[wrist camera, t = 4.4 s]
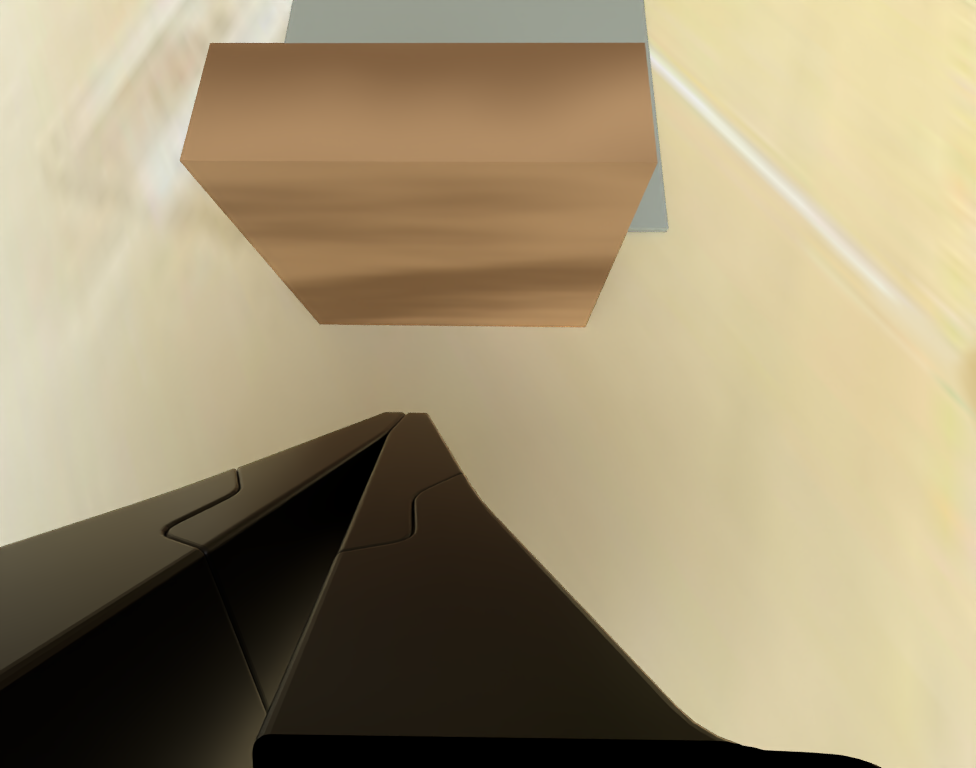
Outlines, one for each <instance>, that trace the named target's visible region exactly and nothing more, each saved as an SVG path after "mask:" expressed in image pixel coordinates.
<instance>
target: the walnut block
mask: <svg viewBox="0 0 976 768" xmlns="http://www.w3.org/2000/svg"><path fill="white" fill-rule="evenodd" d="M180 162H181V163H182V164H183V165H184V166H185V167H186V169H187V170H188V171H189V172H190V173H191V174H192V176H193V177H194V178H195V179H196V180H197V181H198V183H199V184H200V185H201V186H202V187H203V188H204V190H205V191H206V192H207V193H208V194H209V195H210V197H211V198H212V199H213V200H214V201H215V202H216V204H217V205H218V206H219V207H220V208H221V209H222V211H223V212H224V213H225V214H226V215H227V216H228V218H229V219H230V220H231V221H232V222H233V223H234V225H235V226H236V227H237V228H238V229H239V230H240V232H241V233H242V234H243V235H244V236H245V237H246V239H247V240H248V241H249V242H250V243H251V244H252V246H253V247H254V248H255V249H256V250H257V251H258V253H259V254H260V255H261V256H262V257H263V258H264V260H265V261H266V262H267V263H268V264H269V265H270V267H271V268H272V269H273V270H274V271H275V272H276V274H277V275H278V276H279V277H280V278H281V279H282V281H283V282H284V283H285V284H286V285H287V286H288V288H289V289H290V290H291V291H292V292H293V293H294V295H295V296H296V297H297V298H298V299H299V300H300V302H301V303H302V304H303V305H304V306H305V307H306V309H307V310H308V311H309V312H310V313H311V314H312V316H313V317H314V318H315V319H316V320H317V321H318V323H319V324H340V325H430V326H520V327H585V326H586V324H587V322H588V320H589V317H590V315H591V313H592V310H593V308H594V306H595V304H596V301H597V299H598V297H599V295H600V292H601V290H602V288H603V286H604V283H605V281H606V279H607V276H608V274H609V272H610V270H611V267H612V265H613V263H614V261H615V258H616V256H617V254H618V252H619V249H620V247H621V245H622V242H623V240H624V238H625V236H626V233H627V231H628V229H629V227H630V224H631V222H632V220H633V218H634V215H635V213H636V211H637V208H638V206H639V204H640V202H641V199H642V197H643V195H644V193H645V190H646V188H647V186H648V184H649V181H650V179H651V177H652V174H653V172H654V170H655V168H656V165H657V163H658V161H657V151H656V142H655V132H654V123H653V113H652V104H651V94H650V85H649V76H648V66H647V57H646V47H645V43H210V46H209V50H208V54H207V58H206V61H205V65H204V69H203V73H202V77H201V81H200V84H199V88H198V92H197V96H196V100H195V104H194V108H193V111H192V115H191V119H190V123H189V127H188V131H187V135H186V138H185V142H184V146H183V150H182V154H181V158H180Z"/></svg>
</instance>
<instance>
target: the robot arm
mask: <svg viewBox="0 0 976 768" xmlns="http://www.w3.org/2000/svg"><path fill="white" fill-rule="evenodd" d="M0 768H881V767H879V766H877V765H874V764H872V763H869V762H866V761H863V760H860V759H857V758H852V757H848V756H843V755H835V754H823V753H809V752H790V751H768V750H761V749H757V748H754V747H747V746H742V745H740V744H738V743H735V742H732V741H730V740H727V739H724V738H722V737H719V736H717V735H715V734H714V733H712V732H710V731H709V730H707V729H705V728H704V727H702V726H700V725H699V724H697V723H695V722H694V721H693V720H692V719H691V718H690V717H689V716H687V715H686V714H685V713H684V712H683V711H682V710H680V709H679V708H678V707H677V706H676V705H675V704H674V703H673V702H672V701H671V699H670V698H669V697H668V696H667V695H666V694H665V693H664V692H663V691H662V690H661V689H660V688H659V687H658V686H657V685H656V684H655V683H654V682H653V681H652V680H651V678H650V677H649V676H648V675H647V674H646V673H645V672H644V671H643V670H642V669H641V668H640V667H639V666H638V665H637V664H636V663H635V662H634V661H633V660H632V659H631V657H630V656H629V655H628V654H627V653H626V652H625V651H624V650H623V649H622V648H621V647H620V646H619V645H618V644H617V643H616V642H615V641H614V640H613V639H612V638H611V636H610V635H609V634H608V633H607V632H606V631H605V630H604V629H603V628H602V627H601V626H600V625H599V624H598V623H597V622H596V621H595V620H594V619H593V618H592V617H591V615H590V614H589V613H588V612H587V611H586V610H585V609H584V608H583V607H582V606H581V605H580V604H579V603H578V602H577V601H576V600H575V599H574V598H573V597H572V596H571V594H570V593H569V592H568V591H567V590H566V589H565V588H564V587H563V586H562V585H561V584H560V583H559V582H558V581H557V580H556V579H555V578H554V577H553V576H552V575H551V573H550V572H549V571H548V570H547V569H546V568H545V567H544V566H543V565H542V564H541V563H540V562H539V561H538V560H537V559H536V558H535V557H534V556H533V555H532V554H531V552H530V551H529V550H528V549H527V548H526V547H525V546H524V545H523V544H522V543H521V542H520V541H519V540H518V539H517V538H516V537H515V536H514V535H513V534H512V533H511V531H510V530H509V529H508V528H507V527H506V526H505V525H504V524H503V523H502V522H501V521H500V520H499V519H498V518H497V517H496V516H495V515H494V513H493V512H492V511H491V510H490V509H489V508H488V507H487V506H486V504H485V503H484V502H483V501H482V500H481V498H480V497H479V496H478V494H477V493H476V491H475V490H474V488H473V487H472V486H471V484H470V482H469V481H468V479H467V477H466V476H465V475H464V473H463V472H462V470H461V468H460V467H459V465H458V463H457V462H456V460H455V458H454V457H453V455H452V453H451V452H450V450H449V448H448V447H447V445H446V443H445V441H444V440H443V438H442V436H441V435H440V433H439V431H438V430H437V428H436V426H435V425H434V423H433V421H432V420H431V418H430V416H429V415H428V414H427V413H407V414H404V413H402V412H385V413H382V414H379V415H377V416H374V417H371V418H369V419H366V420H363V421H361V422H358V423H355V424H353V425H350V426H347V427H345V428H342V429H340V430H337V431H334V432H332V433H329V434H326V435H324V436H321V437H318V438H316V439H313V440H310V441H308V442H305V443H302V444H300V445H297V446H294V447H292V448H289V449H287V450H284V451H281V452H279V453H276V454H273V455H271V456H268V457H265V458H263V459H260V460H257V461H255V462H252V463H249V464H247V465H244V466H241V467H239V468H238V469H237V471H236V469H231V470H228V471H226V472H223V473H220V474H218V475H215V476H212V477H210V478H207V479H204V480H201V481H199V482H196V483H193V484H190V485H187V486H185V487H182V488H179V489H176V490H173V491H170V492H167V493H164V494H161V495H158V496H155V497H153V498H150V499H147V500H144V501H141V502H138V503H135V504H132V505H129V506H126V507H122V508H119V509H116V510H113V511H110V512H107V513H104V514H101V515H98V516H95V517H92V518H89V519H86V520H82V521H79V522H76V523H73V524H70V525H67V526H64V527H61V528H58V529H55V530H52V531H49V532H45V533H42V534H39V535H36V536H33V537H30V538H27V539H24V540H21V541H18V542H15V543H12V544H8V545H5V546H2V547H0Z"/></svg>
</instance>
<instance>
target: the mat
mask: <svg viewBox="0 0 976 768" xmlns="http://www.w3.org/2000/svg"><path fill="white" fill-rule="evenodd" d="M285 43H645V47H646V57H647V66H648V76H649V85H650V94H651V104H652V113H653V123H654V132H655V142H656V151H657V161H658V163H657V165H656V168H655V170H654V172H653V174H652V177H651V179H650V181H649V184H648V186H647V188H646V190H645V193H644V195H643V197H642V199H641V202H640V204H639V206H638V208H637V211H636V213H635V215H634V218H633V220H632V222H631V224H630V227H629V229H628V231H627V232H666V231H667V229H668V220H667V211H666V202H665V193H664V183H663V174H662V165H661V156H660V147H659V137H658V128H657V119H656V110H655V101H654V92H653V82H652V73H651V64H650V55H649V46H648V36H647V27H646V18H645V9H644V0H293V2H292V7H291V13H290V18H289V23H288V28H287V33H286V38H285Z"/></svg>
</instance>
